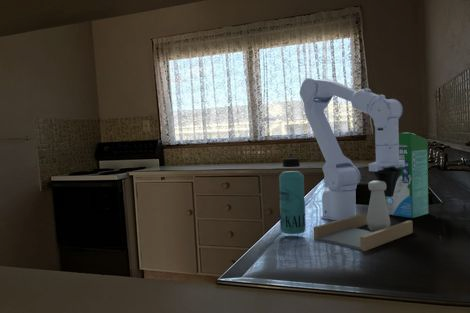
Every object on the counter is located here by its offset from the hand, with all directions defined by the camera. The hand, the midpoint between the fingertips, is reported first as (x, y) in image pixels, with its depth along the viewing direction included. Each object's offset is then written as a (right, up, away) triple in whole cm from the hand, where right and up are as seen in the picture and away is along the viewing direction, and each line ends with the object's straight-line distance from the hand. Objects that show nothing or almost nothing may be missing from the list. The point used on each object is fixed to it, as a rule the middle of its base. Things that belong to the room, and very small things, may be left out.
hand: (388, 196), depth 100 cm
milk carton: (+12, -7, +16) cm, 21 cm away
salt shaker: (-4, -9, -3) cm, 10 cm away
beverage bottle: (-26, -10, -5) cm, 28 cm away
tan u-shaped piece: (-9, -9, -7) cm, 14 cm away
